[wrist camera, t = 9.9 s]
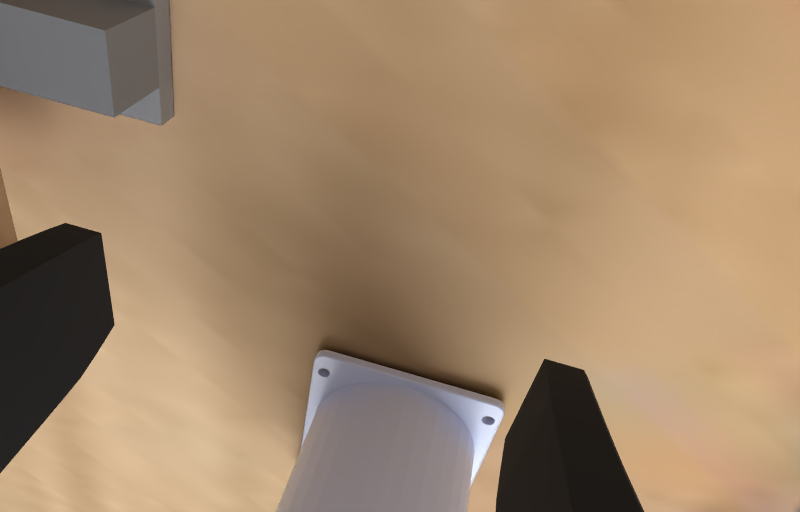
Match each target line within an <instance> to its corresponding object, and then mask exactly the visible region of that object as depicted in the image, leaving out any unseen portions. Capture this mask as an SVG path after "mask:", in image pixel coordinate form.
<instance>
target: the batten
mask: <svg viewBox="0 0 800 512" xmlns="http://www.w3.org/2000/svg"><path fill="white" fill-rule="evenodd" d="M15 242H18V241H17V237H16V233H15V228H14V224H13V220H12V216H11V212H10V207H9V203H8V199H7V195H6V191H5V187H4V182H3V178H2V174H1V170H0V249H1V248H3V247H6V246H8V245H10V244H13V243H15Z"/></svg>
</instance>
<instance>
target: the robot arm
mask: <svg viewBox="0 0 800 512" xmlns="http://www.w3.org/2000/svg"><path fill="white" fill-rule="evenodd" d="M113 326H114V318H113V311H112V304H111V297H110V290H109V283H108V277H107V270H106V263H105V256H104V249H103V242H102V235H101V233H99V232H95V231H92V230H88V229H85V228H81V227H78V226H74V225H71V224H67V223H64V224H61V225H59V226H56V227H53V228H50V229H48V230H45V231H42V232H40V233H37V234H35V235H32V236H30V237H27V238H25V239H23V240H20V241H18V242H15V243H13V244H10V245H8V246H6V247H3V248H1V249H0V473H1V472H2V471H3V469H4V468H5V467H6V466H7V465H8V464H9V462H10V461H11V460H12V459H13V458H14V456H15V455H16V454H17V453H18V452H19V451H20V449H21V448H22V447H23V446H24V445H25V443H26V442H27V441H28V440H29V439H30V438H31V436H32V435H33V434H34V433H35V432H36V431H37V429H38V428H39V427H40V426H41V425H42V424H43V422H44V421H45V420H46V419H47V418H48V416H49V415H50V414H51V413H52V412H53V410H54V409H55V408H56V407H57V406H58V404H59V403H60V402H61V401H62V400H63V398H64V397H65V396H66V395H67V394H68V392H69V391H70V390H71V389H72V388H73V386H74V385H75V384H76V383H77V381H78V380H79V379H80V378H81V376H82V375H83V373H84V372H85V370H86V369H87V367H88V366H89V364H90V363H91V361H92V360H93V358H94V357H95V355H96V354H97V352H98V351H99V349H100V347H101V346H102V344H103V343H104V341H105V339H106V338H107V336H108V334H109V333H110V331H111V330H112V328H113ZM323 368H324V369H327V370H324V369H323ZM504 409H505V406H504V404H503V403H502V402H501V401H500V400H498V399H496V398H492V397H489V396H485V395H482V394H478V393H475V392H471V391H468V390H465V389H461V388H458V387H454V386H451V385H447V384H444V383H440V382H437V381H433V380H430V379H426V378H423V377H420V376H416V375H413V374H409V373H406V372H402V371H399V370H395V369H392V368H388V367H385V366H381V365H378V364H374V363H371V362H368V361H364V360H361V359H357V358H354V357H350V356H347V355H343V354H340V353H336V352H333V351H329V350H321V351H319V352H318V353H317V355H316V357H315V360H314V364H313V371H312V378H311V384H310V391H309V398H308V404H307V411H306V418H305V424H304V431H303V438H302V444H301V450H300V453H299V455H298V458H297V460H296V463H295V465H294V468H293V470H292V473H291V475H290V478H289V480H288V483H287V485H286V488H285V490H284V493H283V495H282V498H281V500H280V503H279V505H278V508H277V510H276V512H467V509H468V501H469V493H470V487H471V484H472V482H473V480H474V478H475V476H476V474H477V472H478V470H479V467H480V465H481V463H482V461H483V459H484V457H485V455H486V452H487V450H488V448H489V446H490V444H491V442H492V440H493V438H494V435H495V433H496V431H497V429H498V427H499V425H500V423H501V420H502V418H503V416H504ZM486 416H489V417H486ZM496 512H644V510H643V508H642V506H641V504H640V502H639V499H638V497H637V495H636V493H635V491H634V488H633V486H632V484H631V482H630V480H629V478H628V475H627V473H626V471H625V468H624V466H623V464H622V461H621V459H620V457H619V454H618V452H617V450H616V447H615V445H614V442H613V440H612V438H611V435H610V433H609V430H608V428H607V425H606V423H605V420H604V418H603V415H602V413H601V410H600V408H599V405H598V403H597V400H596V398H595V395H594V392H593V390H592V387H591V385H590V382H589V379H588V377H587V375H586V373H585V371H584V370H582V369H578V368H575V367H571V366H568V365H564V364H561V363H557V362H554V361H550V360H547V359H544V361H543V363H542V365H541V367H540V369H539V371H538V373H537V375H536V377H535V379H534V381H533V383H532V385H531V387H530V389H529V391H528V393H527V395H526V397H525V399H524V401H523V403H522V405H521V408H520V410H519V412H518V414H517V416H516V418H515V420H514V422H513V424H512V426H511V428H510V430H509V432H508V434H507V436H506V438H505V443H504V450H503V457H502V463H501V470H500V477H499V484H498V492H497V499H496Z"/></svg>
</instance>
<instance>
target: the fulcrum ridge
mask: <svg viewBox="0 0 800 512" xmlns="http://www.w3.org/2000/svg"><path fill="white" fill-rule="evenodd" d="M0 86H1V87H5V88H8V89H12V90H16V91H19V92H23V93H27V94H30V95H34V96H38V97H41V98H45V99H49V100H52V101H56V102H60V103H63V104H67V105H71V106H74V107H78V108H81V109H85V110H89V111H92V112H96V113H100V114H103V115H107V116H111V117H116V116H117V115H119V114H120V115H124V116H128V117H131V118H135V119H139V120H142V121H146V122H150V123H153V124H157V125H161V126H162V125H163V124H164V123H166V122H167V121H168V120H169V119H171V118H172V117H173V116H174V108H173V84H172V61H171V37H170V13H169V0H0Z"/></svg>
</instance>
